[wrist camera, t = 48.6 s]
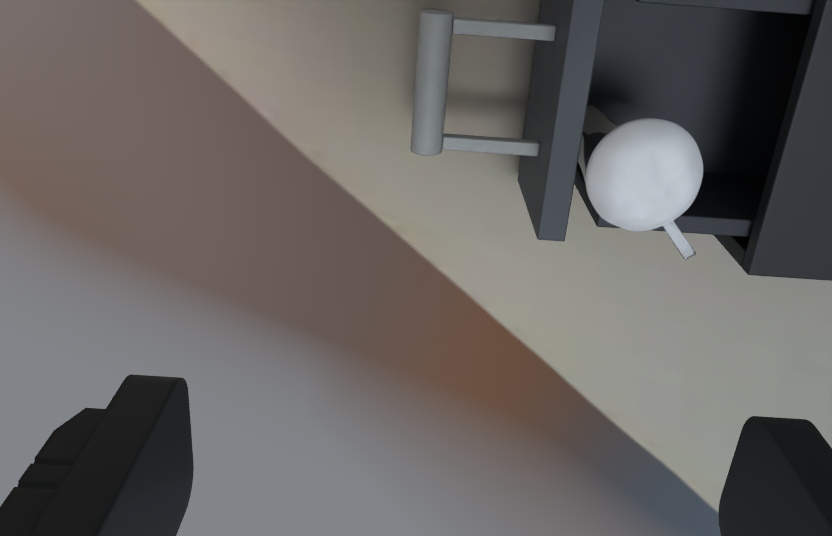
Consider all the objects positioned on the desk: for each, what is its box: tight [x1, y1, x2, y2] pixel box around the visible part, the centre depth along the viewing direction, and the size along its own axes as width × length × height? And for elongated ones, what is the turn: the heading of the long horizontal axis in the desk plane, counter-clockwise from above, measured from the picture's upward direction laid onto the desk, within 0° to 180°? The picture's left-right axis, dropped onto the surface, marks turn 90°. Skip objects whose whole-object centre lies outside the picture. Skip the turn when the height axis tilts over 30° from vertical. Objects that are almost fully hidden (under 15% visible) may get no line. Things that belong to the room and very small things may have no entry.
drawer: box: [411, 0, 817, 241], centre depth 34 cm, size 19×11×8 cm, turn 86°
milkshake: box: [578, 97, 703, 259], centre depth 33 cm, size 5×5×10 cm
